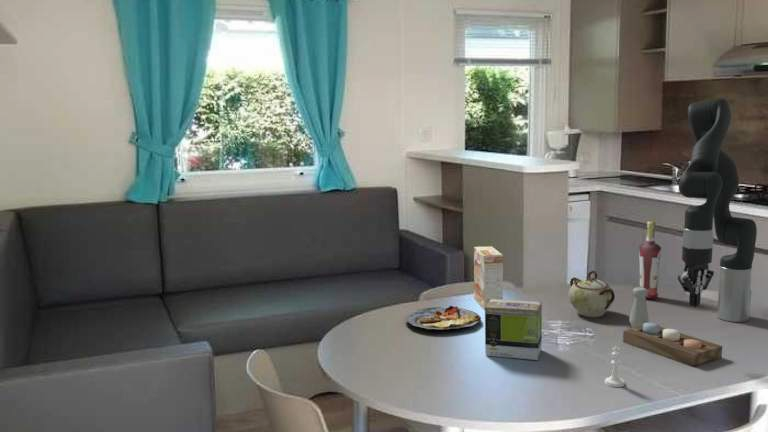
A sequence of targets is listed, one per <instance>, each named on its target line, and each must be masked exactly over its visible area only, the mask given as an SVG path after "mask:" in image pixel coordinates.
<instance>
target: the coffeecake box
mask: <svg viewBox="0 0 768 432" xmlns="http://www.w3.org/2000/svg"><path fill="white" fill-rule="evenodd" d="M473 273H474V274H473V276H474V277H473V280H474V281H473V282H474V283H473V299H474V300H475V301H476V302H477V303H478V305H480V307H481V308H482V309H483V311H485V307H486V306H487V304H488V303H489V301H490V300H491V299H504V289H503V288H504V254H503V253H501V252H500V251H498V250H497V249H496V248H495V247H493V246H492V245H490V246H474V247H473Z"/></svg>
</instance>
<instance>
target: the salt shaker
mask: <svg viewBox="0 0 768 432" xmlns="http://www.w3.org/2000/svg"><path fill="white" fill-rule="evenodd" d="M632 295H633V296H634V300H633V303H632V308H631V310H630V314H629V315H630V316H629V319H628V320H629V324H630V326H631V328H635V327H639V326H643V323H650V320H649V313H648V305H647V301H646V300H647V299H646V298H645V296H647V290H646V289H645V288H642V287H640V286H637V287H634V288H633V289H632Z"/></svg>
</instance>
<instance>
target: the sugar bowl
mask: <svg viewBox="0 0 768 432" xmlns="http://www.w3.org/2000/svg"><path fill="white" fill-rule="evenodd" d="M592 274H594V277H591V275H592ZM569 285H570V288H569V291H568V294H567V295H568V299H569V302H570V304H571V305H572V306H573V308H574V309H575V311H576V312H577V314H578V315H580V316H583V317H586V318H587V317H588V318H598V317H603V316H604V315H605V313H606V312H607V311H608V310H609V309H610V308H611V307H612V305H613V304H614V301H615V297H616V294H615V292H614V289H613V288H612V287H611V286H610V285H609V284H608V283H607V282H604V281H602V280H600V279H598V274H597V271H596V270H592V271H589V272H588V274H587V278H586V279H585V278H584V279H580V278H577V277H572V278H571V279H570V282H569Z"/></svg>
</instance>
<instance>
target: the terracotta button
mask: <svg viewBox="0 0 768 432" xmlns="http://www.w3.org/2000/svg"><path fill="white" fill-rule="evenodd" d="M684 346H685V347H688V348H691V349H694V350H696V349H699V348H701V347H702V342H700V341H698V340H693V339H687V340H684Z"/></svg>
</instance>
